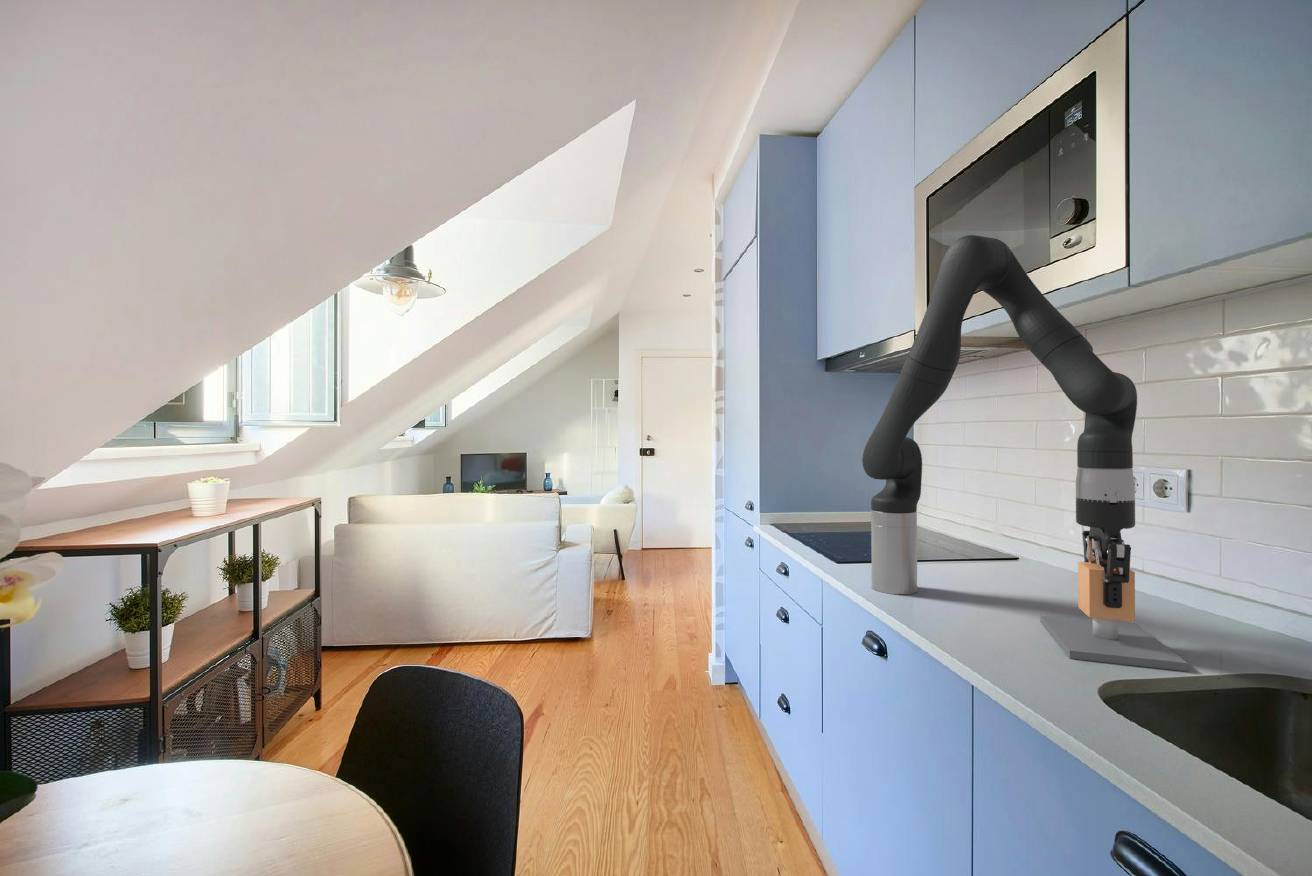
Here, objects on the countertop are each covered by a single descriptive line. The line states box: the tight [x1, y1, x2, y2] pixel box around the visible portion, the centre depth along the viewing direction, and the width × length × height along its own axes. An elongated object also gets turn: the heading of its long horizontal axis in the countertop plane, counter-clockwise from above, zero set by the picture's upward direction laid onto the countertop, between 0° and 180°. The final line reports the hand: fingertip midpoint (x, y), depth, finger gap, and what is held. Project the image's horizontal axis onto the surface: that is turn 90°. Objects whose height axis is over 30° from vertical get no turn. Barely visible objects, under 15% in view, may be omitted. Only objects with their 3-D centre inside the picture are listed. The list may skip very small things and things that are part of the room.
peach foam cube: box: [1077, 561, 1136, 622], centre depth 93 cm, size 6×6×8 cm
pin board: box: [1039, 614, 1189, 673], centre depth 93 cm, size 18×14×7 cm
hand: (1105, 601), depth 93 cm, fingers closed on peach foam cube, 5 cm apart
